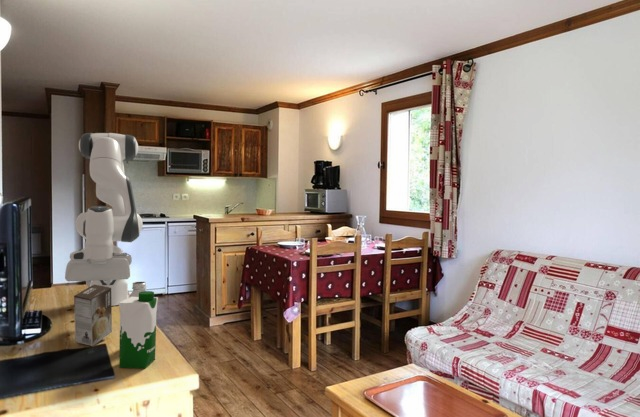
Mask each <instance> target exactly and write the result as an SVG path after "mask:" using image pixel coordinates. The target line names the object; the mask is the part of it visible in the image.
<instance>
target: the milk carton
mask: <svg viewBox="0 0 640 417" xmlns="http://www.w3.org/2000/svg"><path fill="white" fill-rule="evenodd" d="M158 301H159V297H155V292H154V291H151V290H150V291H149V290H147V291H146V290H145V291H143V292H139V297H130V298H128V299H126V300H123V301H121V302H119V305H118V307H119V346H118V348H119V349H118V350H119V355H118V356H119V357H118V360H119V361H118V363H119V365H118V366H119V368H120V369H122V368H123V369H143V370H145V369H147V367H149V366H150V364H152V363H153V362H154V361H155V360H156V346H157V345H156V342H157V341H156V339H157V310H158ZM119 368H118V369H119Z"/></svg>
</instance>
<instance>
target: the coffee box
mask: <svg viewBox="0 0 640 417" xmlns="http://www.w3.org/2000/svg"><path fill="white" fill-rule="evenodd" d="M73 301H74V302H73V304H74V330H75V331H74V333H75V342H76V343H77V344H82V345H87V346H91V347H94V346H95V345H96V344H98V343H99V342H100V341H102V340H103V339H104V338H106V337H107V336H109V335H110V334H111V333H112V332H113V331H112V330H113V329H112V328H113V327H112V324H113V322H112V319H113V318H112V315H113V314H112V310H113V309H112V306H111V288H109V287H105V286H100V285H95V284H94V285H92V286H90V287H89V288H88V287H87V288H86V289H83V290H82V291H80V292H78V293H77V294H74V295H73Z"/></svg>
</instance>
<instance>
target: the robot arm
mask: <svg viewBox="0 0 640 417" xmlns="http://www.w3.org/2000/svg"><path fill="white" fill-rule="evenodd" d="M78 149H79V152H80V154H81V156H82V157H84V158H85V159H88V160H89V176H90V178H91V180H92V181H93V182H94V183H95V196H96V198H97V199H98V200H99V201H101V202H103V203H105V204H107V205H109V206H106V205H95V206H94V205H93V206H91V207H89V208H88V209H87V210H86V212H81V213H79V215H78V216H77V217H76V219H75V222H74V226H75V230H76V232H77V233H78V235H80V236H81V237H82V238H84V239H85V242H84V248H82V249H78V250H75V251H72V252H70V254H69V259H70V260H69V261H68V262H67V264H66V267H65V272H64V274H65V275H64V279H65V281H67V282H85V285H86V287H87V288H89V287H90V286H92V285H94V284H95V285H100V286H105V287H109V288H111V307H114V306H119V302H121V301H123V300H126V299H128V297H129V296H130V294H128V293H129V290H128V289H129V288H128V284H129V283H128V282H127V281H126V280H129V279H130V277H131V267H130V266H131V264H132V259H133V258H132V255H130V254H129V253H127V252H123V249H122V248H120V247H119V246H116V245H114V242H123V243H132V242H134V241H136V240H137V239H138V238H139V237H140V235H141V231H142V230H143V222H144V221H143V219H142V217H141V216H140V215H139V213H137V206H136V202H135V196H134V190H133V186H132V182H131V178H130V177H129V176H127V175H126V174H125V165H124V161H125V162H126V164H129V162H130V161H133V160H134V159H135V158H136V157H137V155H138V152H139V144H138V141H137V139H136V137H135V136H134V135H131V134H127V133H126V134H121V133H115V132H114V133H113V132H108V133H106V132H95V133H93V132H87V133H83V134H82V135H81V136H80V139H79V141H78Z"/></svg>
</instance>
